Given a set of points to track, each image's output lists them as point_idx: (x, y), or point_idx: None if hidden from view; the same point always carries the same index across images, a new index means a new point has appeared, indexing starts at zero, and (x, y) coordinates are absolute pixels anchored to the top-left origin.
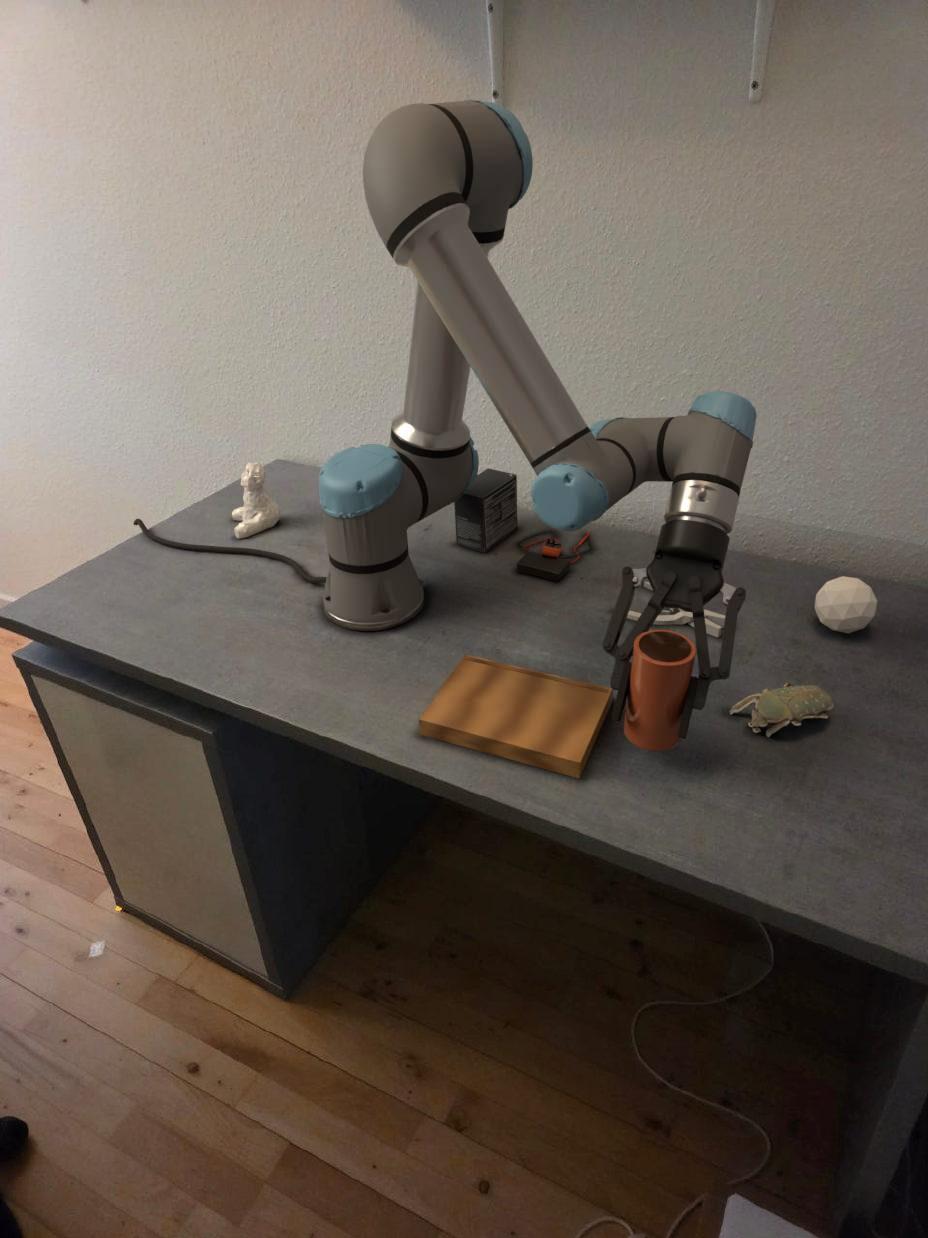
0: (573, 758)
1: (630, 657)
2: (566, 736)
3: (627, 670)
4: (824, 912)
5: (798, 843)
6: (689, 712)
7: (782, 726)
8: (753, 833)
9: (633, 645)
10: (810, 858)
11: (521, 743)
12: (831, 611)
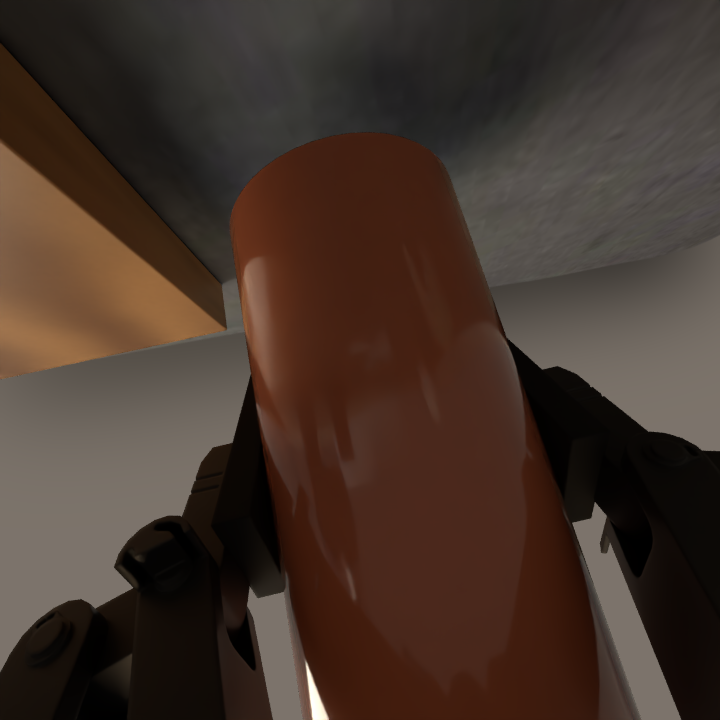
0: (205, 331)
1: (213, 578)
2: (123, 314)
3: None
4: (615, 259)
5: (656, 195)
6: None
7: None
8: (572, 216)
9: (264, 700)
10: (656, 209)
11: (74, 358)
12: None
